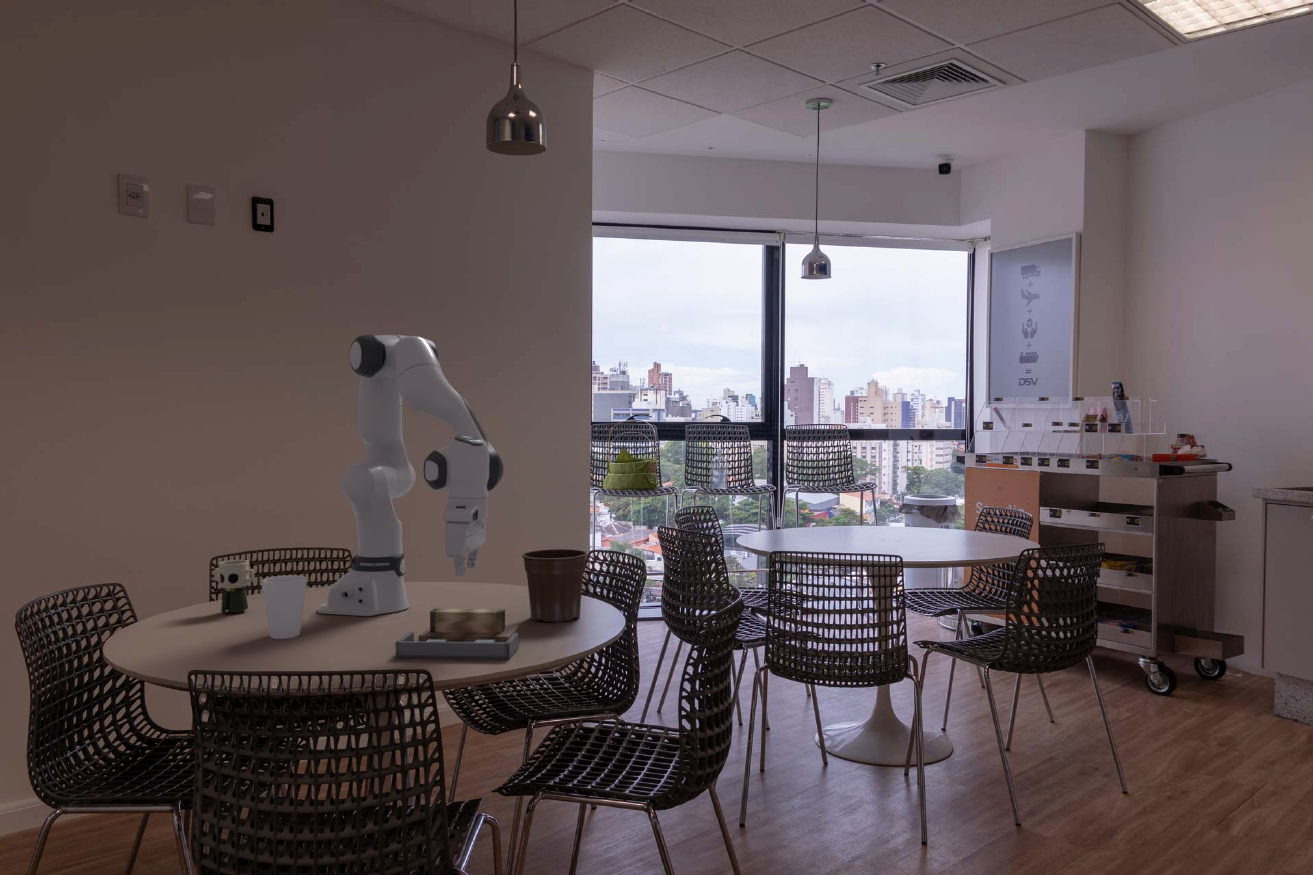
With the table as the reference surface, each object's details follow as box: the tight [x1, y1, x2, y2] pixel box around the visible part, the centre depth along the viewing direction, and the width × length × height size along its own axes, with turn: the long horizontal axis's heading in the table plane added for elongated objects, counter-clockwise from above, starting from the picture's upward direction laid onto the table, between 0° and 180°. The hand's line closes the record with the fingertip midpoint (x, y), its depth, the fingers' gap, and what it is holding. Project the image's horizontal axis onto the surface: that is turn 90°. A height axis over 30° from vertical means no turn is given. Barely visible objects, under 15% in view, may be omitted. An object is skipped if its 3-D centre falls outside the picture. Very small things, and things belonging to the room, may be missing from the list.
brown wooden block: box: [429, 608, 506, 633], centre depth 206 cm, size 16×4×4 cm, turn 87°
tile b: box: [475, 640, 495, 642], centre depth 197 cm, size 4×4×2 cm
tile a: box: [426, 639, 447, 642], centre depth 198 cm, size 4×4×2 cm
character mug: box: [213, 559, 255, 614], centre depth 236 cm, size 11×7×13 cm, turn 82°
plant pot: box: [521, 548, 588, 623], centre depth 230 cm, size 16×16×16 cm
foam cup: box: [261, 575, 308, 640], centre depth 212 cm, size 10×9×13 cm
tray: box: [395, 631, 519, 661], centre depth 196 cm, size 24×9×3 cm, turn 87°
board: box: [418, 625, 520, 642], centre depth 206 cm, size 20×10×2 cm, turn 87°
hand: (466, 571), depth 205 cm, fingers open, 8 cm apart
